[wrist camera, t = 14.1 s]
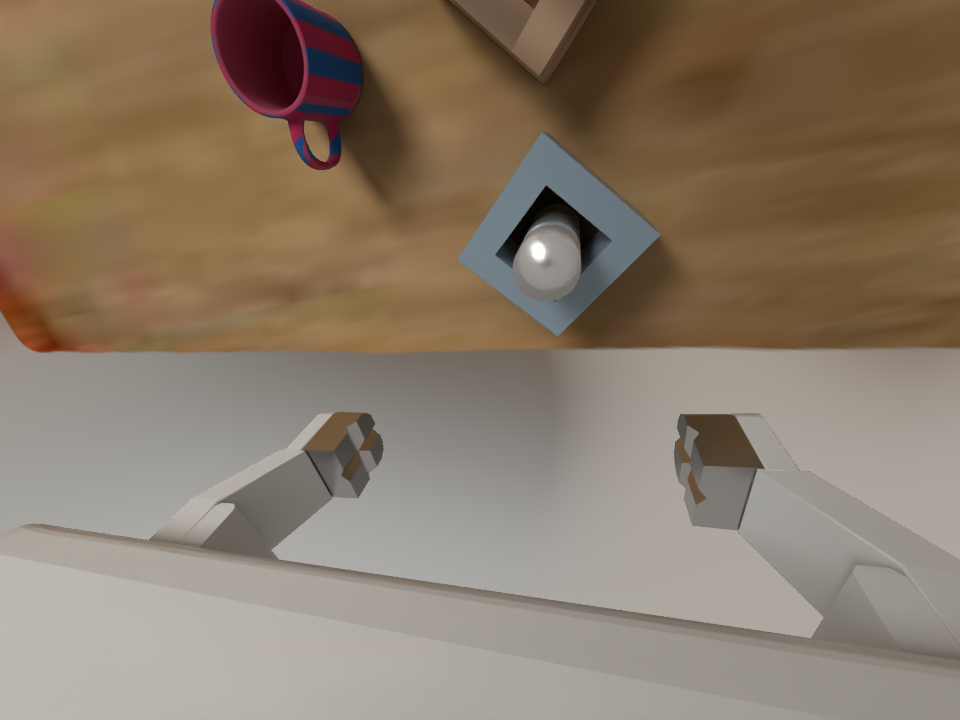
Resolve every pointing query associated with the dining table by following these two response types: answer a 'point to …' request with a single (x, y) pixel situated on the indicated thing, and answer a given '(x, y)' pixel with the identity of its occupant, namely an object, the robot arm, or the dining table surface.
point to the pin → (549, 255)
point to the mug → (289, 65)
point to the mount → (530, 29)
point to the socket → (587, 194)
